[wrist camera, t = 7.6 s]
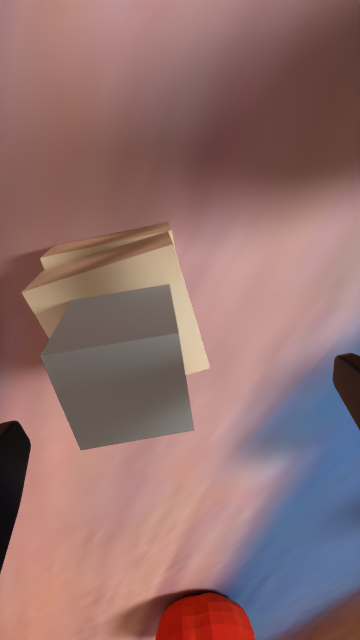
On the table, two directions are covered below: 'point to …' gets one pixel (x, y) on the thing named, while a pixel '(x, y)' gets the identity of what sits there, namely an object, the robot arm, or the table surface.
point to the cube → (120, 368)
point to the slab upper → (120, 288)
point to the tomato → (204, 619)
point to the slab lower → (98, 245)
